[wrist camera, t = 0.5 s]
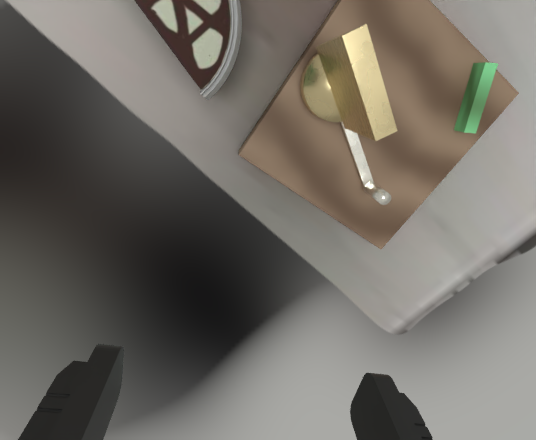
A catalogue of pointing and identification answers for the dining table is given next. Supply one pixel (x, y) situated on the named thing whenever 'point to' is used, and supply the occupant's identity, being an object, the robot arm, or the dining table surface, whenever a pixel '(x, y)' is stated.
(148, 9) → the food container
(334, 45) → the tan bar with dome
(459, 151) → the dial board
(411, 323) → the dining table surface
